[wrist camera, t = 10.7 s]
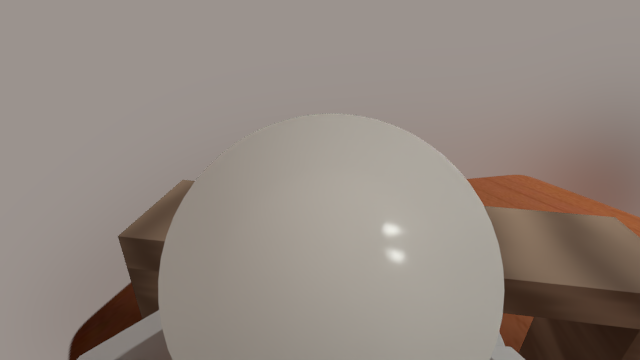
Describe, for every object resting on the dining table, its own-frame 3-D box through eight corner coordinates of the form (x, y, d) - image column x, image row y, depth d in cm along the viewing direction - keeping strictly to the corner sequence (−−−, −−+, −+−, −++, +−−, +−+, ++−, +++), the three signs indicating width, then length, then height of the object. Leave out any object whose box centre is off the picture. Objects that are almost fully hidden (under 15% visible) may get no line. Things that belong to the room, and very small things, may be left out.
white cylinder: (399, 257, 16) (485, 120, 6) (399, 388, 14) (532, 501, 4) (289, 246, 17) (206, 107, 7) (270, 370, 14) (105, 432, 5)
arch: (542, 366, 32) (615, 217, 24) (592, 469, 24) (716, 301, 17) (207, 321, 35) (182, 180, 28) (165, 398, 28) (117, 236, 21)
